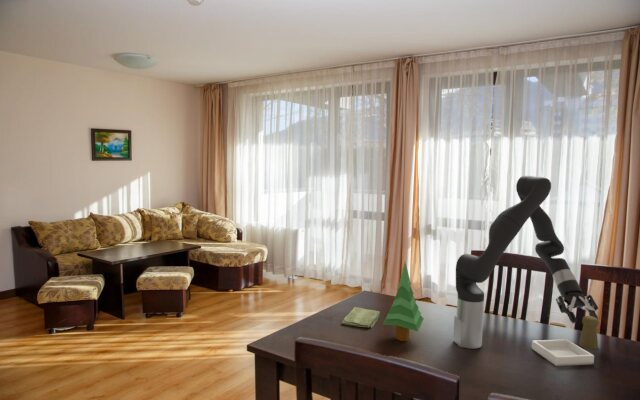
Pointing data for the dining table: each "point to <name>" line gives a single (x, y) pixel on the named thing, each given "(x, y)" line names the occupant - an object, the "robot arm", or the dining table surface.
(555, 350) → the tray
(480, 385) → the dining table surface
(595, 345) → the cork
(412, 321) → the decorative tree
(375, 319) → the washcloth
